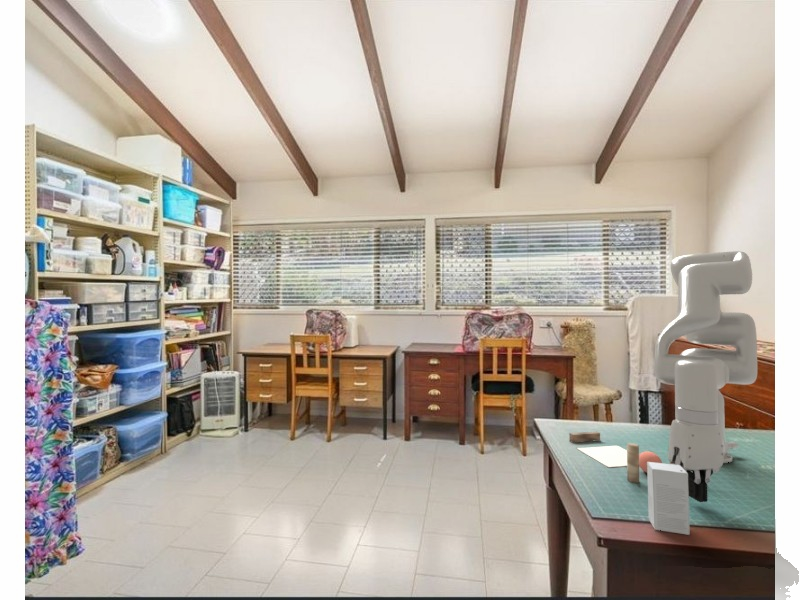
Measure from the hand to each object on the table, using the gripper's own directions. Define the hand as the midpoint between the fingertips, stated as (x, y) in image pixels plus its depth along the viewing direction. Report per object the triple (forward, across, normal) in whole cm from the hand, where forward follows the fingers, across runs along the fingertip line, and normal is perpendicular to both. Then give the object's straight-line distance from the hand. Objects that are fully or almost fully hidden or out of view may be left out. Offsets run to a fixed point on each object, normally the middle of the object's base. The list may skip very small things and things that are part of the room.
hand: (697, 498), depth 84 cm
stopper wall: (+2, -2, -41) cm, 41 cm away
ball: (-1, -3, -16) cm, 17 cm away
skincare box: (+2, +14, +6) cm, 15 cm away
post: (+2, +5, -13) cm, 14 cm away
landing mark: (+2, -2, -28) cm, 28 cm away
